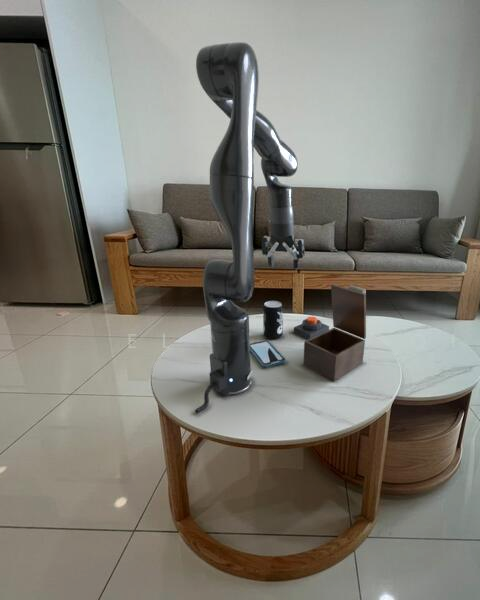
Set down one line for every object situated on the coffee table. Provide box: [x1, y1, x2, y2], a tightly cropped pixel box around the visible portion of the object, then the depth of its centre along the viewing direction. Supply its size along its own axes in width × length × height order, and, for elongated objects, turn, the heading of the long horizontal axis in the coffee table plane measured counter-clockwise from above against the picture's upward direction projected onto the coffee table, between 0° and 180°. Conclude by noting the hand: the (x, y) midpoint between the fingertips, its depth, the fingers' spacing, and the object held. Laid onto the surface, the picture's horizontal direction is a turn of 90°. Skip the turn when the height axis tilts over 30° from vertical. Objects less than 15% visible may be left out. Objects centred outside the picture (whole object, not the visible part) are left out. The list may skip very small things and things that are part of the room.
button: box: [306, 316, 318, 325], centre depth 114 cm, size 4×4×2 cm
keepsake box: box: [303, 327, 366, 382], centre depth 94 cm, size 14×12×8 cm
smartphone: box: [250, 339, 287, 368], centre depth 99 cm, size 7×1×15 cm
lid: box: [330, 283, 367, 340], centre depth 95 cm, size 14×12×6 cm
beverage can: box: [262, 300, 284, 340], centre depth 109 cm, size 7×7×12 cm
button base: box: [293, 318, 330, 340], centre depth 114 cm, size 10×8×4 cm
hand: (283, 267), depth 109 cm, fingers open, 8 cm apart
